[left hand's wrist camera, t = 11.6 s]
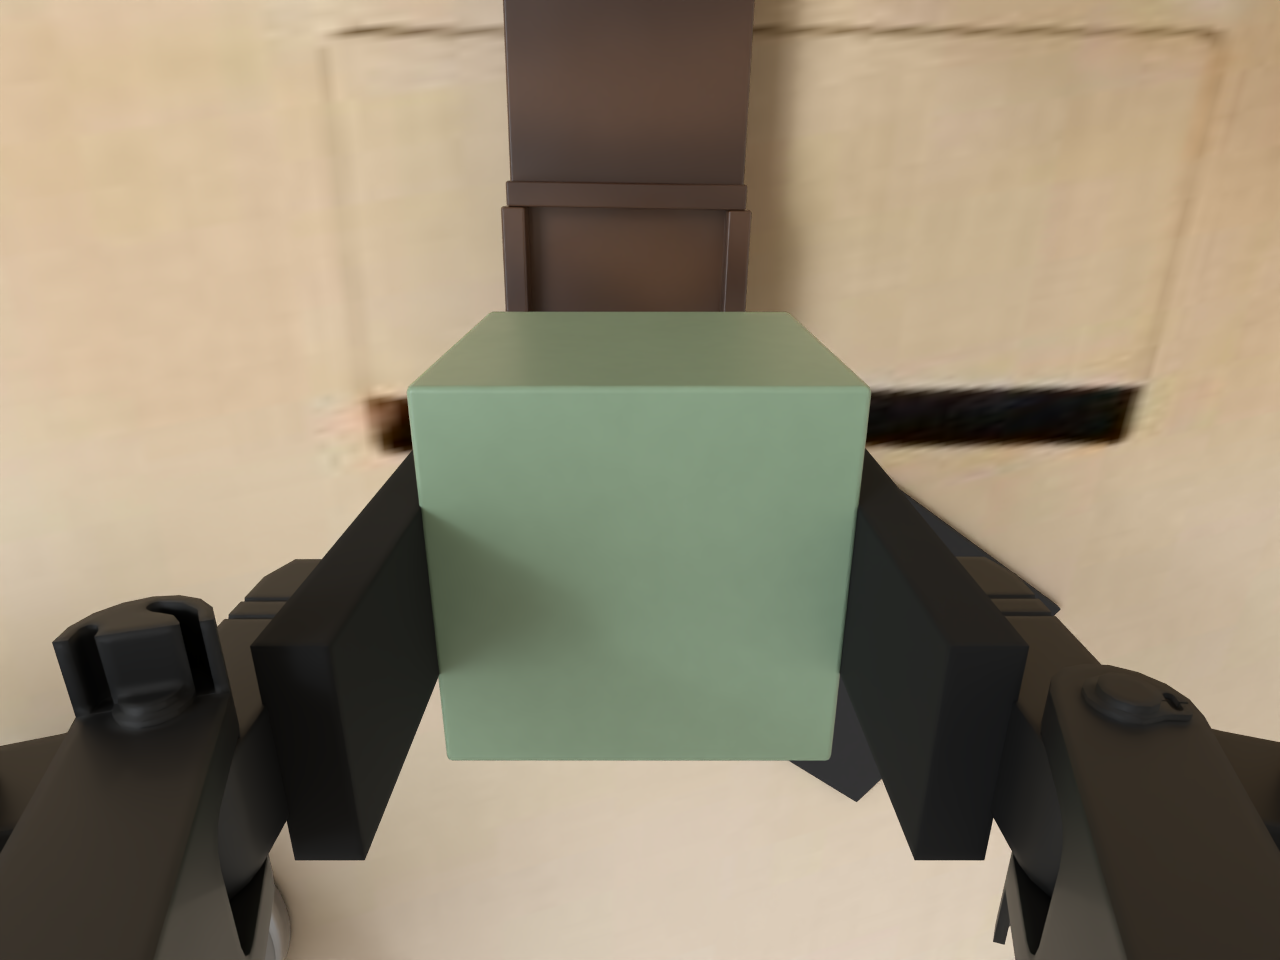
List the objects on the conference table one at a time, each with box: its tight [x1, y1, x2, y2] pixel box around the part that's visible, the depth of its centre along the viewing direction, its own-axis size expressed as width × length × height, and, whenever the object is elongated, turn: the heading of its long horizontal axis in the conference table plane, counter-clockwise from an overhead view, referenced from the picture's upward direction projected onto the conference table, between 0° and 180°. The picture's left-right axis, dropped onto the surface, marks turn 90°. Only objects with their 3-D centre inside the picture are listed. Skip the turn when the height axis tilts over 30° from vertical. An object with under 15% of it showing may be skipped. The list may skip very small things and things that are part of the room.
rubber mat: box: [789, 490, 1060, 802], centre depth 36 cm, size 14×14×1 cm
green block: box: [407, 312, 871, 760], centre depth 14 cm, size 6×6×6 cm
